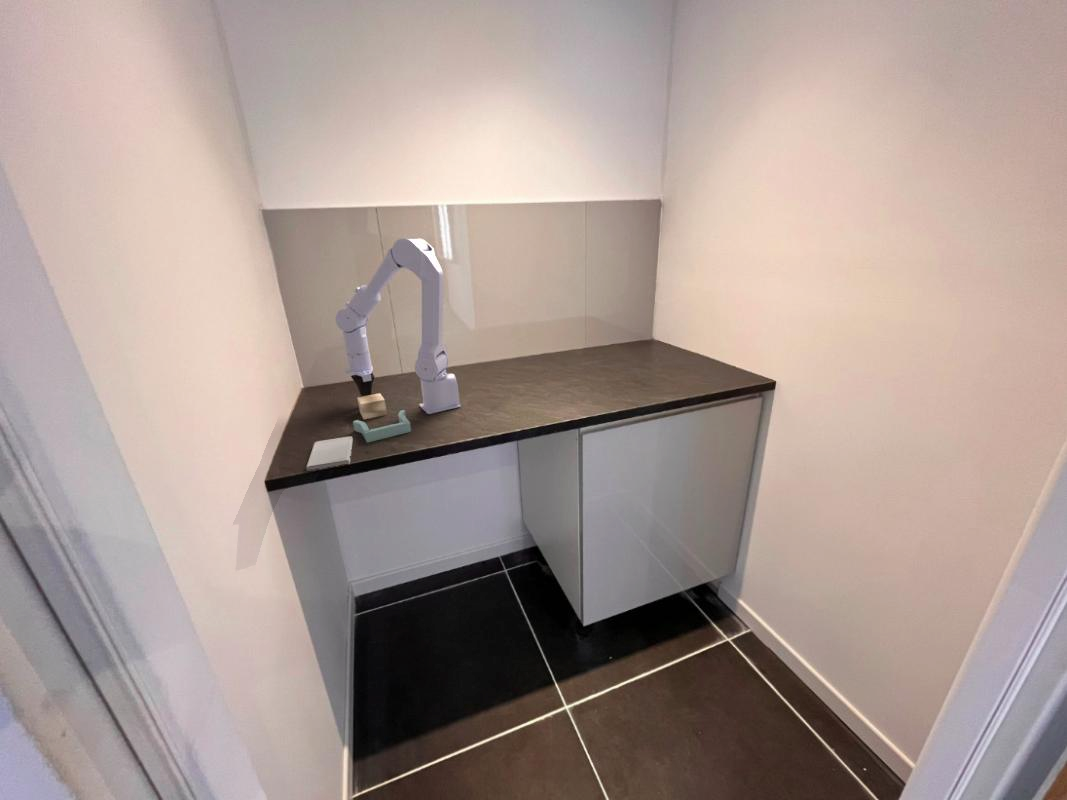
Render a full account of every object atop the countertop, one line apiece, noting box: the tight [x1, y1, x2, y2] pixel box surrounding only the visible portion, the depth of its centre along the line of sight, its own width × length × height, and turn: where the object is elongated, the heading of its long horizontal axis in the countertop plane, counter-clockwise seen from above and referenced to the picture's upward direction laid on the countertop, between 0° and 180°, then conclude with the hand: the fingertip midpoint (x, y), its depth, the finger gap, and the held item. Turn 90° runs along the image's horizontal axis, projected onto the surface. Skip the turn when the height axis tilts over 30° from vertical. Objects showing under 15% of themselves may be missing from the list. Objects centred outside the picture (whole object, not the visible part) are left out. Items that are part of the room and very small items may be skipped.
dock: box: [352, 409, 412, 443], centre depth 103 cm, size 13×9×2 cm
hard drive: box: [305, 436, 354, 470], centre depth 92 cm, size 2×8×12 cm
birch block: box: [357, 392, 388, 420], centre depth 113 cm, size 6×6×4 cm
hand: (366, 398), depth 119 cm, fingers closed
